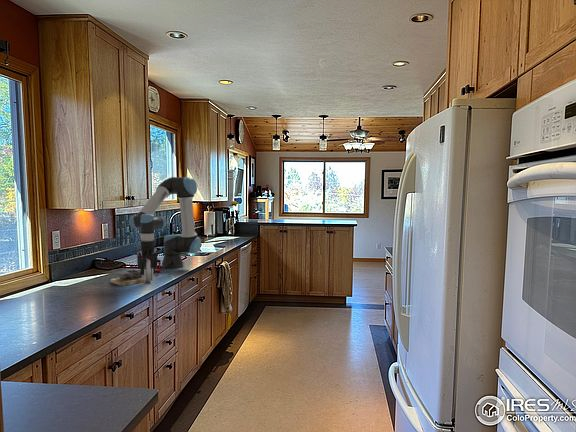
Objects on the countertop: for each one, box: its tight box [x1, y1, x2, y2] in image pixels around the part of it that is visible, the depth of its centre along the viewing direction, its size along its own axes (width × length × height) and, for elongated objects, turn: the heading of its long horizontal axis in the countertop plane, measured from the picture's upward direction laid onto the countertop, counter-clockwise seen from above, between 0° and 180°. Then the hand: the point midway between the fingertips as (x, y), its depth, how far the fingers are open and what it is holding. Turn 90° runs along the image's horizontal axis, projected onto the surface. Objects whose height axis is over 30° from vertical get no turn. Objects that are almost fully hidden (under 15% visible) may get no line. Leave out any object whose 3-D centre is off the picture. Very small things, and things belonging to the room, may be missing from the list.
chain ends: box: [110, 269, 154, 287], centre depth 231 cm, size 19×14×6 cm
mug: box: [141, 255, 162, 275], centre depth 253 cm, size 10×14×12 cm
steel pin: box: [143, 259, 152, 285], centre depth 227 cm, size 4×4×14 cm
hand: (147, 279), depth 227 cm, fingers open, 4 cm apart
